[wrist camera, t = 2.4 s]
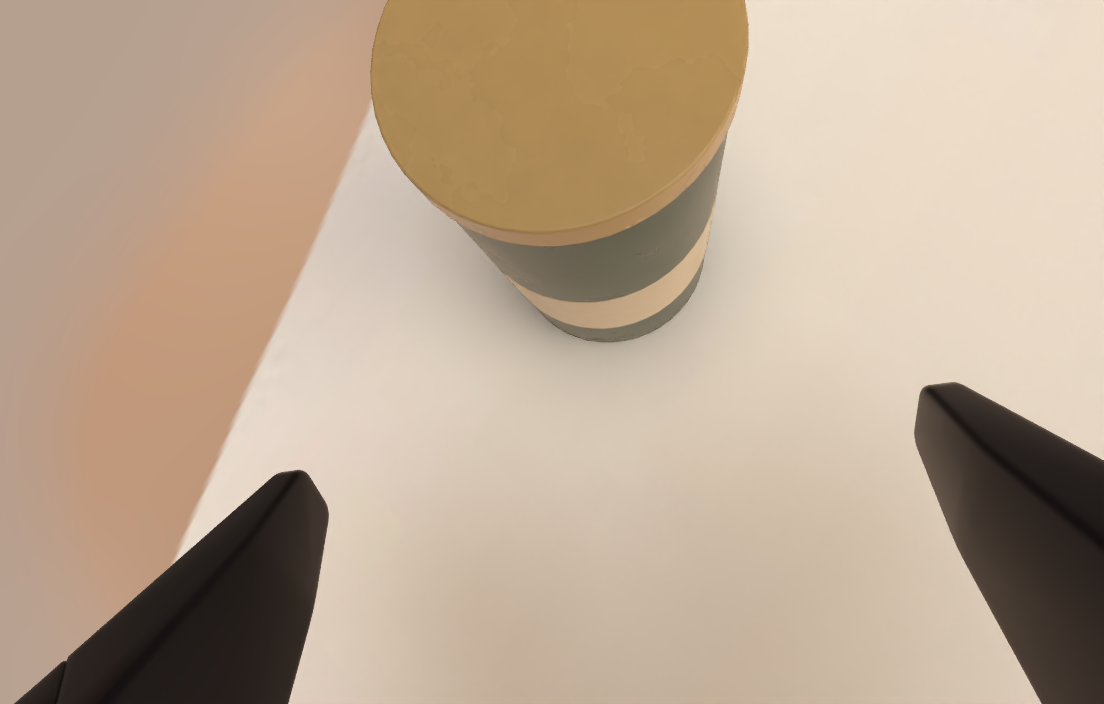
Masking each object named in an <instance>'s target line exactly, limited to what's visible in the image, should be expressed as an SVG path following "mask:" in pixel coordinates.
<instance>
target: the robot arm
mask: <svg viewBox="0 0 1104 704" xmlns="http://www.w3.org/2000/svg"><path fill="white" fill-rule="evenodd" d="M914 435H915V442H916V446H917V449H918V451H919V454H920V456H921V459H922V461H923V464H924V466H925V469H926V471H927V474H928V476H929V479H930V481H931V484H932V486H933V489H934V491H935V494H936V496H937V499H938V501H939V504H940V506H941V509H942V511H943V514H944V516H945V519H946V521H947V524H948V526H949V529H950V531H951V534H952V536H953V538H954V541H955V543H956V545H957V548H958V550H959V552H960V554H961V556H962V558H963V559H964V561H965V563H966V565H967V567H968V569H969V571H970V573H971V574H972V576H973V578H974V580H975V582H976V584H977V586H978V587H979V589H980V591H981V593H982V595H983V597H984V598H985V600H986V602H987V604H988V606H989V608H990V609H991V611H992V613H993V615H994V617H995V619H996V620H997V622H998V624H999V626H1000V628H1001V630H1002V632H1003V633H1004V635H1005V637H1006V639H1007V641H1008V643H1009V644H1010V646H1011V648H1012V650H1013V652H1014V654H1015V655H1016V657H1017V659H1018V661H1019V663H1020V665H1021V666H1022V668H1023V670H1024V672H1025V674H1026V676H1027V678H1028V679H1029V681H1030V683H1031V685H1032V687H1033V689H1034V690H1035V692H1036V694H1037V696H1038V698H1039V700H1040V701H1041V703H1042V704H1104V460H1102V459H1100V458H1098V457H1096V456H1094V455H1093V454H1091V453H1089V452H1087V451H1085V450H1083V449H1081V448H1079V447H1078V446H1076V445H1074V444H1072V443H1070V442H1068V441H1066V440H1065V439H1063V438H1061V437H1059V436H1057V435H1055V434H1053V433H1052V432H1050V431H1048V430H1046V429H1044V428H1042V427H1040V426H1038V425H1037V424H1035V423H1033V422H1031V421H1029V420H1027V419H1025V418H1024V417H1022V416H1020V415H1018V414H1016V413H1014V412H1012V411H1011V410H1009V409H1007V408H1005V407H1003V406H1001V405H999V404H997V403H996V402H994V401H992V400H990V399H988V398H986V397H984V396H983V395H981V394H979V393H977V392H975V391H973V390H971V389H970V388H968V387H966V386H964V385H962V384H959V383H956V382H949V383H942V384H934V385H928V386H925V387H924V388H923V389H922V390H921V392H920V396H919V402H918V409H917V416H916V422H915V430H914ZM328 519H329V512H328V507H327V504H326V502H325V500H324V499H323V497H322V496H321V494H320V492H319V491H318V489H317V488H316V486H315V484H314V483H313V481H312V480H311V478H310V476H309V475H308V474H307V473H306V472H304V471H302V470H295V471H287V472H281V473H278V474H276V475H274V476H273V477H272V478H271V479H270V480H268V481H267V482H266V483H265V484H264V485H263V486H262V487H261V488H259V489H258V490H257V491H256V492H255V493H254V494H253V495H251V496H250V497H249V498H248V499H247V500H246V501H245V502H243V503H242V504H241V505H240V506H239V507H238V508H237V509H236V510H234V511H233V512H232V513H231V514H230V515H229V516H228V517H226V518H225V519H224V520H223V521H222V522H221V523H220V524H218V525H217V526H216V527H215V528H214V529H213V530H212V531H211V532H209V533H208V534H207V535H206V536H205V537H204V538H203V539H201V540H200V541H199V542H198V543H197V544H196V545H195V546H193V547H192V548H191V549H190V550H189V551H188V552H187V553H185V554H184V555H183V556H182V557H181V558H180V559H179V560H178V561H176V562H175V563H174V564H173V565H172V566H171V567H170V568H168V569H167V570H166V571H165V572H164V573H163V574H162V575H160V576H159V577H158V578H157V579H156V580H155V581H154V582H153V583H151V584H150V585H149V586H148V587H147V588H146V589H145V590H143V591H142V592H141V593H140V594H139V595H138V596H137V597H135V598H134V599H133V600H132V601H131V602H130V603H129V604H128V605H126V606H125V607H124V608H123V609H122V610H121V611H120V612H118V613H117V614H116V615H115V616H114V617H113V618H112V619H110V620H109V621H108V622H107V623H106V624H105V625H104V626H102V627H101V628H100V629H99V630H98V631H97V632H96V633H95V634H93V635H92V636H91V637H90V638H89V639H88V640H87V641H85V642H84V644H82V645H81V646H80V647H79V648H77V649H76V650H75V651H74V652H73V653H72V654H71V655H70V656H69V657H68V659H67V661H63V662H61V663H60V664H59V665H58V666H57V667H56V668H55V669H53V670H52V671H51V672H50V673H49V674H48V675H47V676H46V677H44V678H43V679H42V680H41V681H40V682H39V683H38V684H37V685H35V686H34V687H33V688H32V689H31V690H30V691H28V692H27V693H26V694H25V695H24V696H23V697H21V698H20V699H19V700H18V701H17V702H16V703H14V704H288V702H289V699H290V695H291V691H292V688H293V684H294V680H295V677H296V673H297V669H298V666H299V662H300V658H301V655H302V651H303V647H304V644H305V640H306V636H307V633H308V629H309V625H310V621H311V617H312V613H313V609H314V604H315V599H316V593H317V587H318V581H319V575H320V569H321V563H322V556H323V550H324V544H325V538H326V532H327V526H328Z"/></svg>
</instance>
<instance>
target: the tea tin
mask: <svg viewBox="0 0 1104 704" xmlns="http://www.w3.org/2000/svg"><path fill="white" fill-rule="evenodd" d="M747 54H748V18H747V11H746V5H745V0H388V1H387V3H386V6H385V8H384V11H383V13H382V16H381V19H380V22H379V25H378V28H377V32H376V36H375V41H374V45H373V50H372V61H371V94H372V100H373V106H374V111H375V116H376V119H377V122H378V125H379V129H380V132H381V135H382V137H383V139H384V141H385V143H386V145H387V147H388V149H389V151H390V153H391V155H392V157H393V158H394V160H395V161H396V163H397V164H398V166H399V167H400V168H401V170H402V171H403V173H404V174H405V175H406V176H407V177H408V178H409V180H410V181H411V182H412V183H413V184H414V185H415V186H416V187H417V188H418V189H419V190H420V191H421V192H422V193H423V194H424V195H425V196H426V197H427V198H428V200H429V201H430V202H431V203H432V204H433V205H434V206H436V207H437V208H438V209H440V210H441V211H442V212H443V213H445V214H446V215H447V216H448V217H450V218H451V219H453V220H454V221H456V222H457V223H458V224H459V225H460V226H461V227H462V228H463V230H464V231H465V232H466V233H467V234H468V235H469V236H470V237H471V238H472V239H473V240H474V241H475V242H476V243H477V245H478V246H479V247H480V248H481V249H482V250H483V251H484V252H485V253H486V254H487V255H488V256H489V258H490V259H491V260H492V262H493V263H494V264H495V265H496V266H497V267H498V268H499V269H500V270H501V271H502V272H503V274H504V275H505V276H506V277H507V278H508V279H509V280H510V281H511V282H512V283H513V284H514V285H515V286H516V287H517V289H518V290H519V291H520V292H521V293H522V294H523V295H524V296H525V297H526V298H527V299H528V300H529V301H530V302H531V303H532V304H533V305H534V306H535V307H536V308H537V309H538V310H539V311H540V312H541V313H542V314H543V315H544V317H545V318H546V319H548V320H549V321H550V322H551V323H553V324H554V325H555V326H556V327H558V328H560V329H561V330H563V331H565V332H567V333H569V334H571V335H574V336H576V337H579V338H582V339H586V340H591V341H598V342H618V341H626V340H630V339H634V338H638V337H640V336H643V335H645V334H648V333H650V332H652V331H654V330H656V329H658V328H659V327H661V326H662V325H664V324H665V323H666V322H668V321H669V320H671V319H672V318H673V317H674V316H675V315H676V314H677V313H678V312H679V311H680V310H681V309H682V307H683V306H684V305H685V304H686V302H687V301H688V299H689V298H690V296H691V295H692V293H693V291H694V289H695V287H696V285H697V283H698V280H699V277H700V274H701V271H702V267H703V261H704V256H705V251H706V247H707V243H708V238H709V233H710V228H711V222H712V217H713V212H714V206H715V201H716V195H717V188H718V181H719V175H720V170H721V165H722V159H723V154H724V148H725V143H726V138H727V132H728V129H729V127H730V125H731V122H732V120H733V118H734V115H735V111H736V108H737V104H738V101H739V98H740V94H741V89H742V84H743V79H744V74H745V68H746V61H747Z"/></svg>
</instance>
